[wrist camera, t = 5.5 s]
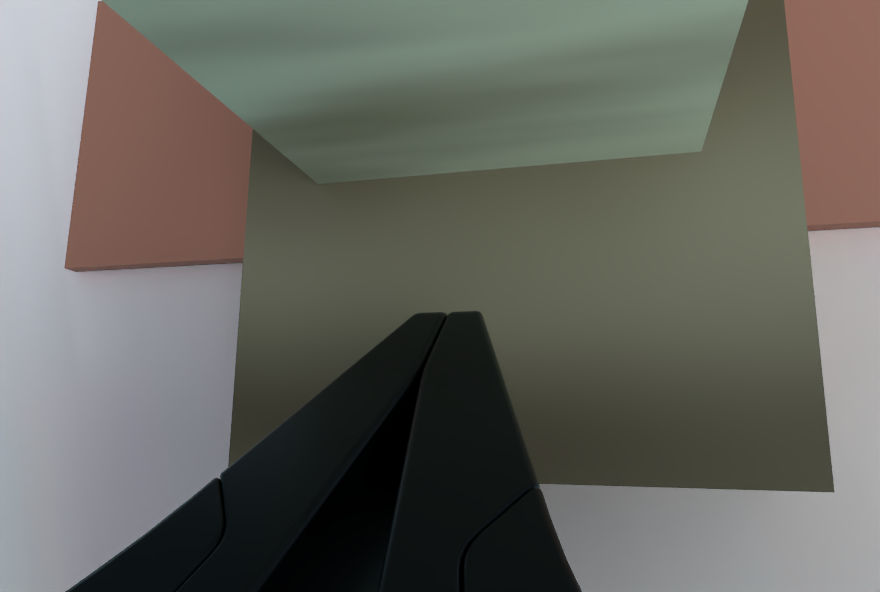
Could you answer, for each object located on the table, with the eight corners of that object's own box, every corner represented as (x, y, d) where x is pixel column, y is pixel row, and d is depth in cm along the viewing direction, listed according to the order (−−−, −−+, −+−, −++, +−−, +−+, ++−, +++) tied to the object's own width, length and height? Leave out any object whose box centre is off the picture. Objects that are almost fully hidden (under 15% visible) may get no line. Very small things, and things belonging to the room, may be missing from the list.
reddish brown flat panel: (1177, 209, 12) (1194, 202, 12) (76, 271, 18) (64, 268, 18) (1098, -155, 14) (1111, -171, 14) (107, 10, 20) (98, 1, 20)
